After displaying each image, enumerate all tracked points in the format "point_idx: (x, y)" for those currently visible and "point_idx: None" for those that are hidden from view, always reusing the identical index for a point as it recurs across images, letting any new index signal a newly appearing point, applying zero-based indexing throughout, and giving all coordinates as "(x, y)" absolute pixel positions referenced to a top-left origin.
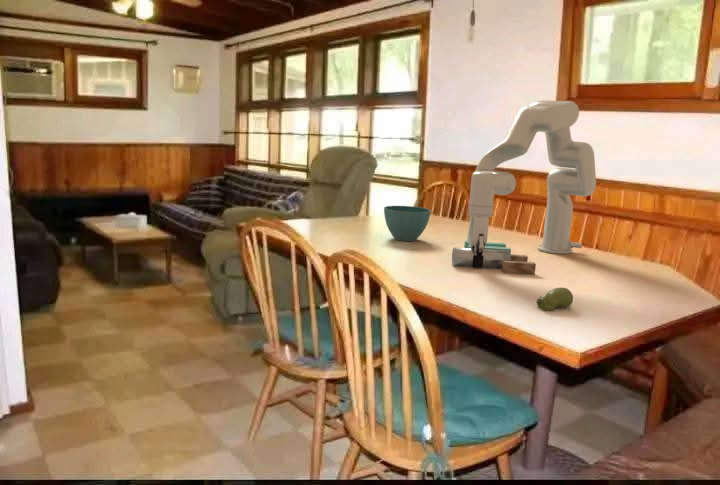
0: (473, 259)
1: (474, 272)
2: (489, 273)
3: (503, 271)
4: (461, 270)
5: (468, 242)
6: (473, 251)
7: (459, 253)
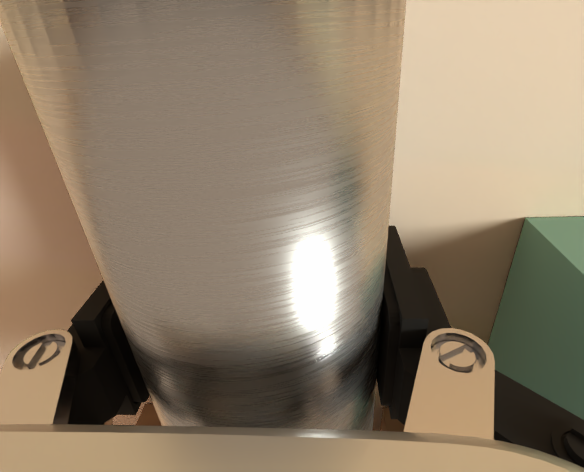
0: (101, 286)
1: (28, 223)
2: None
3: (141, 416)
4: (26, 96)
5: (265, 448)
6: (145, 363)
7: (33, 104)
